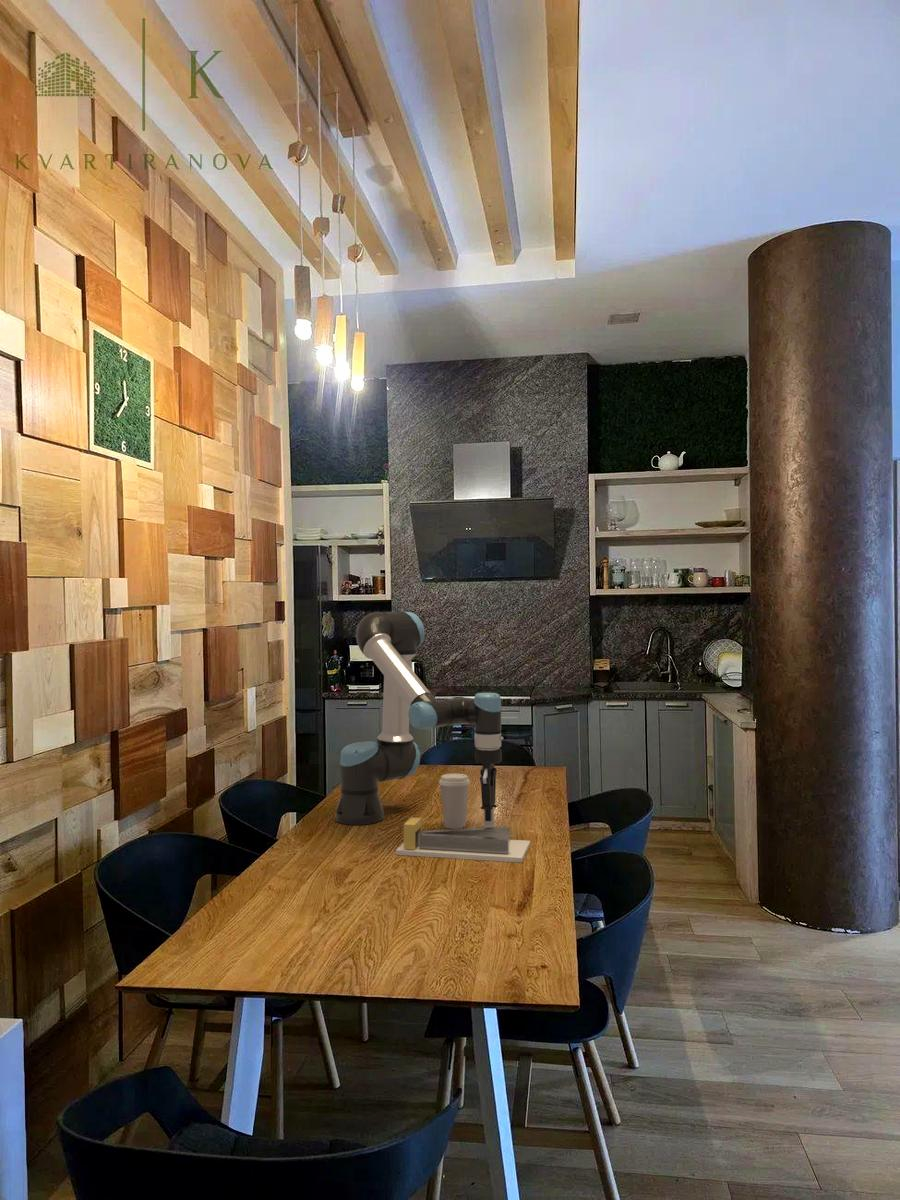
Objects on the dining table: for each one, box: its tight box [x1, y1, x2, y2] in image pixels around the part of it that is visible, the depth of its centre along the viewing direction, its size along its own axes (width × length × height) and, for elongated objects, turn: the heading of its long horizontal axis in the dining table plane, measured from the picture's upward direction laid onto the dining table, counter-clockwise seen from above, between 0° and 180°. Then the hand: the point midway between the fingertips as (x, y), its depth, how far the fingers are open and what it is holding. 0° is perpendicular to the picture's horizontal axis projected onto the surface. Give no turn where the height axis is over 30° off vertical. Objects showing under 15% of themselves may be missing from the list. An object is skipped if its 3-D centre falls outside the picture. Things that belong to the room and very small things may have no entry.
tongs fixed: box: [415, 830, 509, 854], centre depth 225 cm, size 28×4×4 cm, turn 77°
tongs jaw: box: [422, 826, 511, 841], centre depth 230 cm, size 24×2×4 cm, turn 99°
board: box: [395, 839, 531, 863], centre depth 228 cm, size 34×16×1 cm, turn 77°
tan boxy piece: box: [403, 817, 423, 849], centre depth 228 cm, size 3×8×6 cm, turn 167°
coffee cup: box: [438, 773, 471, 829], centre depth 253 cm, size 10×10×15 cm
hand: (489, 831), depth 237 cm, fingers closed
